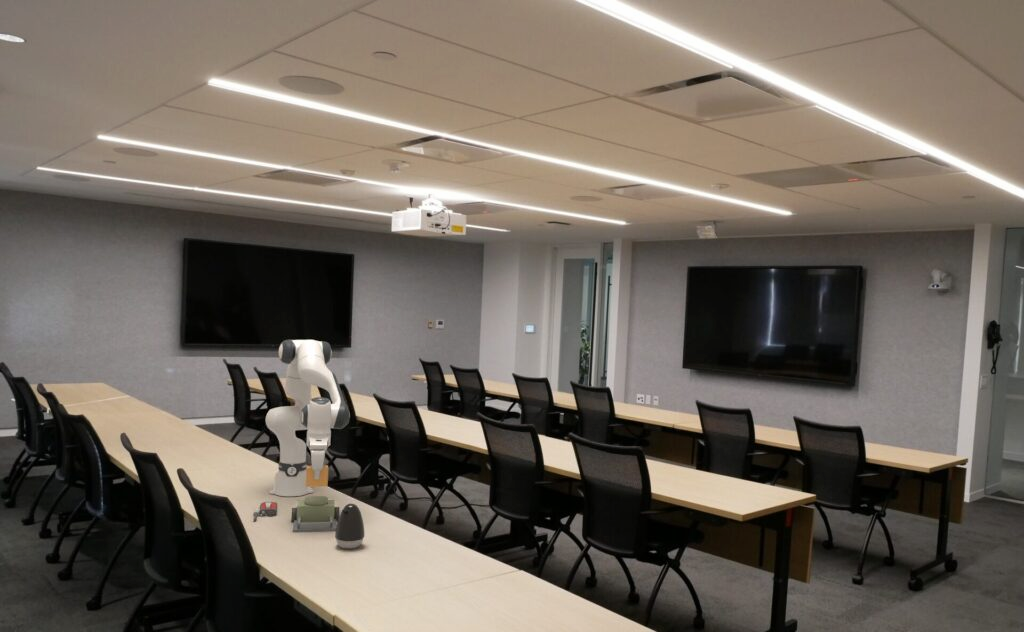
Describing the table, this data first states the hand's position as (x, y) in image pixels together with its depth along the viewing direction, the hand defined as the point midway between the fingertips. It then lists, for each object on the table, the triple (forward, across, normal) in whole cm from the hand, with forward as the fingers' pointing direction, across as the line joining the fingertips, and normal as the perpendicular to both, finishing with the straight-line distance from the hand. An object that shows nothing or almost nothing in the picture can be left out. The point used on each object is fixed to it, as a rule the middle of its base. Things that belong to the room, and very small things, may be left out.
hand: (317, 476), depth 275 cm
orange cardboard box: (+3, 0, 0) cm, 3 cm away
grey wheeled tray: (+19, -4, 0) cm, 20 cm away
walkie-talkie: (+20, -19, -19) cm, 34 cm away
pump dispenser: (+20, +24, +12) cm, 33 cm away
